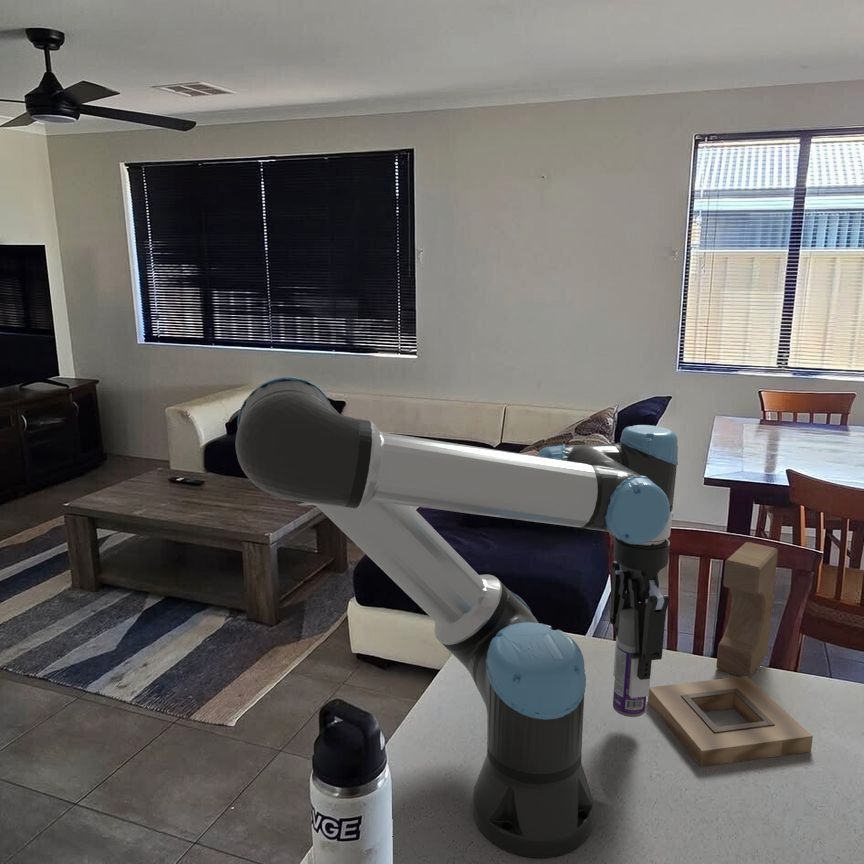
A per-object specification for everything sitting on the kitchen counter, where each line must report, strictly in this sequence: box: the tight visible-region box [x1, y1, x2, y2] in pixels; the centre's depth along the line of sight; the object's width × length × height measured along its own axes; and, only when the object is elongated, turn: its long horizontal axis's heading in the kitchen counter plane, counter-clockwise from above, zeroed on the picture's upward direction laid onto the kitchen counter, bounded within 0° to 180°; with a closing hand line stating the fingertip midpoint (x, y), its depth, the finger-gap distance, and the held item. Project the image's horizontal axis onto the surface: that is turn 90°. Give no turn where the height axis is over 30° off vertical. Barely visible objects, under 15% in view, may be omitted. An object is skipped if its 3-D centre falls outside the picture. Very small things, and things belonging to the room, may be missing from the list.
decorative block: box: [716, 541, 779, 679], centre depth 128 cm, size 11×6×20 cm, turn 140°
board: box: [647, 676, 814, 768], centre depth 113 cm, size 17×16×3 cm
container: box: [612, 608, 647, 718], centre depth 110 cm, size 5×5×15 cm
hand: (630, 685), depth 111 cm, fingers closed on container, 5 cm apart
